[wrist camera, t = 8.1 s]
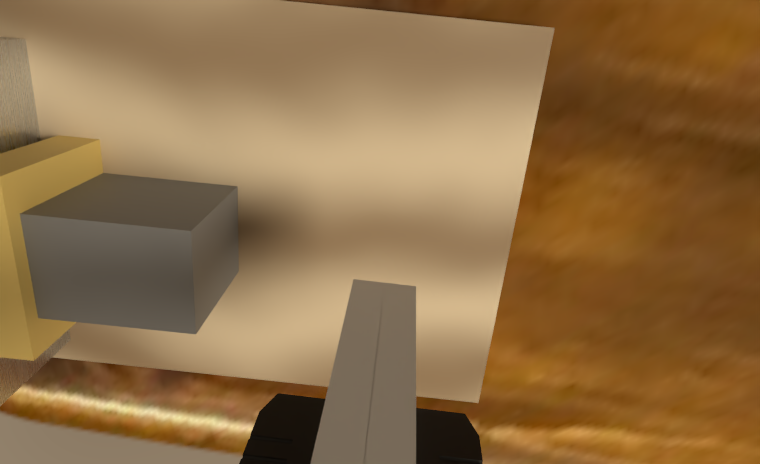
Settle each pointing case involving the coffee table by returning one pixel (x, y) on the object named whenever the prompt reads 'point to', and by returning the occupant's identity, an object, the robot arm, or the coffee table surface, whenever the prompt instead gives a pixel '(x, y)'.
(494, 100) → the base board
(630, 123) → the coffee table surface
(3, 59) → the block
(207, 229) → the grey block yellow flange
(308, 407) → the robot arm
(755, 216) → the coffee table surface
